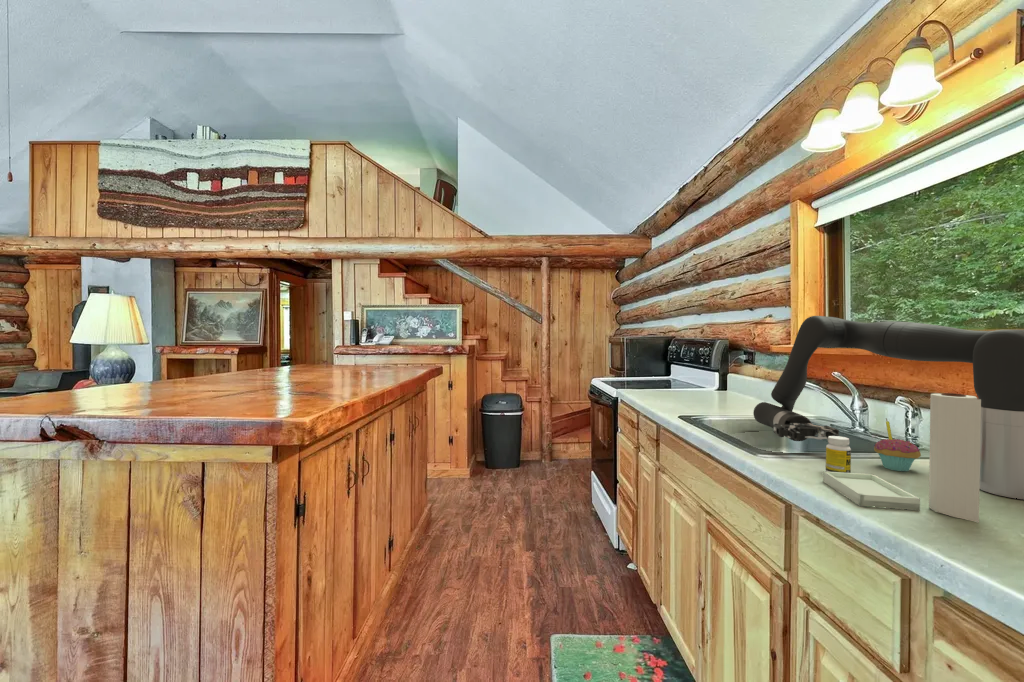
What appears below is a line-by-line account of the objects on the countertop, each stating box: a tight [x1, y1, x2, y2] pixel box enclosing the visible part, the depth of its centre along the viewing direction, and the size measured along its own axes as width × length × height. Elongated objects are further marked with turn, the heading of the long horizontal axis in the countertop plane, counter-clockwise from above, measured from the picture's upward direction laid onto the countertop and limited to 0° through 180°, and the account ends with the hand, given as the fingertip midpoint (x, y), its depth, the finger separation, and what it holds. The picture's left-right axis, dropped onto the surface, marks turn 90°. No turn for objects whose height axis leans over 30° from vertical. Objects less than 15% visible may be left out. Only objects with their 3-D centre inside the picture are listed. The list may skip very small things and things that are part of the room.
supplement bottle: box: [825, 435, 852, 473], centre depth 105 cm, size 5×5×8 cm
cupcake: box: [873, 417, 922, 472], centre depth 110 cm, size 9×8×12 cm
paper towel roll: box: [928, 392, 981, 524], centre depth 82 cm, size 7×6×21 cm
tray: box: [822, 470, 921, 512], centre depth 91 cm, size 10×15×2 cm, turn 168°
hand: (817, 437), depth 116 cm, fingers open, 8 cm apart
